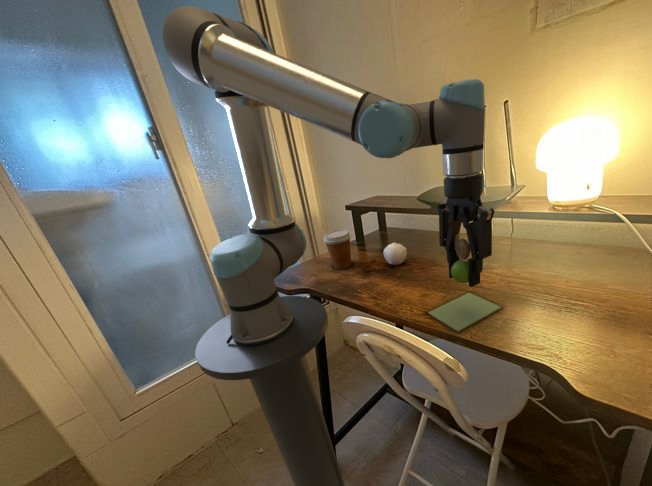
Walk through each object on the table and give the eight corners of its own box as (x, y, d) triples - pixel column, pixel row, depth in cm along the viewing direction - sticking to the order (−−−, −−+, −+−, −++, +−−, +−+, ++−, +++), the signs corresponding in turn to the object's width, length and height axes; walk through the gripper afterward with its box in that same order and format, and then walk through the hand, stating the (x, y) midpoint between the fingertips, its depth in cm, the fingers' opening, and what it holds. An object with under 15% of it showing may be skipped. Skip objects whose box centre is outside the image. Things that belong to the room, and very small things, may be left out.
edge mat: (457, 332, 66) (457, 330, 66) (428, 313, 74) (427, 312, 74) (501, 308, 71) (501, 306, 71) (469, 293, 79) (469, 292, 79)
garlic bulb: (407, 258, 106) (405, 237, 103) (408, 267, 100) (406, 245, 96) (385, 260, 107) (382, 240, 104) (384, 269, 101) (381, 248, 97)
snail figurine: (466, 273, 73) (466, 225, 67) (480, 284, 67) (481, 232, 62) (445, 278, 72) (443, 229, 67) (458, 289, 66) (457, 237, 61)
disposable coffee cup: (345, 272, 103) (338, 239, 98) (324, 269, 108) (316, 237, 103) (360, 261, 110) (355, 229, 105) (340, 259, 115) (333, 228, 110)
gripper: (517, 172, 53) (510, 288, 63) (444, 170, 68) (448, 264, 78) (488, 180, 50) (485, 301, 60) (418, 176, 65) (425, 273, 75)
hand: (464, 280), depth 69 cm, fingers closed on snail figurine, 5 cm apart
